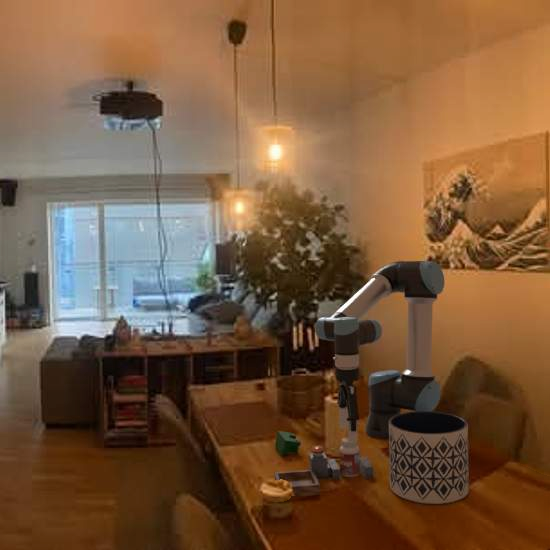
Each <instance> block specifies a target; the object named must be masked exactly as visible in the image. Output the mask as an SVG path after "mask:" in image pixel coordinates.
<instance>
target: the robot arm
mask: <svg viewBox="0 0 550 550" xmlns="http://www.w3.org/2000/svg"><path fill="white" fill-rule="evenodd" d="M443 271H444V270H442V268H441V266H440V264H438V263H437V262H435V261H428V260H414V261H413V260H407V261H406V260H397V261H393V262H391V263H389V264H387V265H385V266H383V267H381V268H380V269H378V270H377V271H375V272H374V273H373V274H372V275H371V276H369V278H368V281H367V283H366V284H365V285H364V286H362V287H361V288H360V289H359V290H358V291H357V292H355V294H354V295H352V296H351V297H350V298H349V299H348V300H347V301H346V302H345V303H344V304H343V305H342V306H341V307H339V309H337V310H336V311H335V312H334V313H333V314H332V315H331V316H330V317H328V316H325V317H319V318H318V319H317V321H316V322H315V325H314V331H315V335H316V337H317V338H319V339H321V340H325V341H331V342H333V341H334V357H332V360H334V364H335V365H334V366H335V368H334V379H335V381H337V382H338V394H337V401H336V402H337V405H338V408H339V409H338V414H339V416H338V418H339V419H338V421H339V424H338V425H339V430H340V429H347V437H348V441H349V442H353V441H357V442H358V439H359V438H358V436H359V435H358V431H359V430H358V421H359V420H360V415H359V406H358V405H359V404H358V398H357V387H356V386H354V382H356V381H359V380H360V368H359V366H360V346H363V345H364V346H365V345H368V344H374V343H376V342H377V341H379V340H380V339H381V337H382V334H383V329H382V325H381V324H380V323H379V322H378V321H377V320H376V319H365V320H363V319H362V318H363V317H364V316H365V315H366V314H367V313H368V312H370V310H371V309H372V308H373V307H375V305H377V304H378V303H379V302H380V301H381V300H382V299H383V298H384V299H385V298H387V297H389V296H390V295H392V294H394V293H396V294H397V293H403V294H404V297H403V298H404V299H405V300H406V301H407V303H408V304H407V306H408V307H407V333H406V334H407V336H406V362H405V363H406V368H405V369H404V370H403V371H402V372H400V370H397V369H396V370H395V369H393V370H392V369H390V370H389V369H388V370H383V371H382V370H381V371H377V372H373V373H371V374H370V375H369V377H368V397H369V400H368V402H369V404H368V405H369V414H368V416H367V420H366V423H365V426H364V427H365V434H366V435H368V436H369V437H373V438H377V439H387V440H389V420H390V418H391V417H393V416H395V415H397V414H401V413H402V410H407V411H411V412H415V411H433V412H434V410H435V409H436V407H437V406H438V404H439V402H440V399H441V396H442V395H441V393H442V387H441V384H440V383H439V381H437V380H436V379H435V376H436V375H435V373H433V371H432V367H431V366H432V338H433V337H432V335H433V334H432V332H433V331H432V330H433V308H434V307H433V305H434V303H435V302H436V301H437V300H438V295H440V294H441V293H442V292H443V290H444V288H445V274H444V272H443ZM361 319H362V320H361Z"/></svg>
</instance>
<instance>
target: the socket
mask: <svg viewBox="0 0 550 550" xmlns="http://www.w3.org/2000/svg"><path fill="white" fill-rule="evenodd" d="M359 464H360V472H361V473H362V475H363V476H364V478H365V479H374V466H373V464H372V463H371V462H370V460H369V458H368V457H367V456H359ZM308 467H309V468H308V470H313V471H314V473H315V476H316V478H317V480H329V478H330V479H331V480H332V482H334V481H335V482H336V481H341V474H340V465H338V463H337V461H336V459H335V458H331V459H328V457H327V455H326V453H325V452H323V453H322V457H320V458H314V453H308Z"/></svg>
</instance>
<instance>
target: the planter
mask: <svg viewBox="0 0 550 550" xmlns="http://www.w3.org/2000/svg"><path fill="white" fill-rule="evenodd" d="M468 426H469V424H468V422H467V420H466V419H464V418H463V417H460V416H458V415H455V414H451V413H447V412H440V411H434V410H433V411H406V412H401V414H397V415H395V416H393V417H391V418H390V420H389V439H388V447H389V448H388V449H389V452H388V453H389V455H388V456H389V457H388V459H389V485H390V486H389V487H390V489H391V491H392V492H393V493H394V494H395V495H397V496H399V497H400V498H402V499H405V500H406V501H410V502H413V503H418V504H426V505H443V504H444V503H446V504H451V503H454V501H455V502H457V500H458V501H459V500H462V499H463V498H465V497H466V496H467V495H468V493H469V490H470V487H469V485H470V482H469V481H470V480H469V477H470V476H469V475H470V474H469V428H468ZM450 502H451V503H450ZM444 505H445V504H444Z"/></svg>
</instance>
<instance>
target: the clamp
mask: <svg viewBox="0 0 550 550" xmlns="http://www.w3.org/2000/svg"><path fill="white" fill-rule="evenodd" d="M296 438H297V435H296V434H295V433H293V432H289V431H288V432H287V431H281V430H277V435H276V438H275V442H274V446H275V449H276V451H278V453H279V454H280V455H281V456H284V457H288V455H289V453H293V454H298V450H299V447H301V443H302V441H301V440H300V439H296Z"/></svg>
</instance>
